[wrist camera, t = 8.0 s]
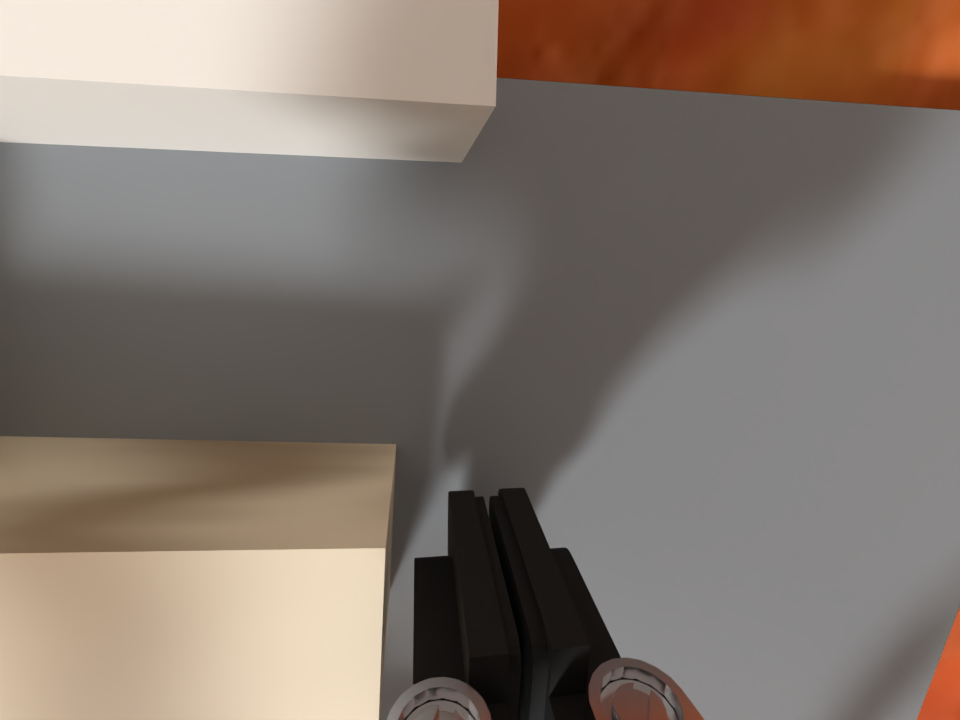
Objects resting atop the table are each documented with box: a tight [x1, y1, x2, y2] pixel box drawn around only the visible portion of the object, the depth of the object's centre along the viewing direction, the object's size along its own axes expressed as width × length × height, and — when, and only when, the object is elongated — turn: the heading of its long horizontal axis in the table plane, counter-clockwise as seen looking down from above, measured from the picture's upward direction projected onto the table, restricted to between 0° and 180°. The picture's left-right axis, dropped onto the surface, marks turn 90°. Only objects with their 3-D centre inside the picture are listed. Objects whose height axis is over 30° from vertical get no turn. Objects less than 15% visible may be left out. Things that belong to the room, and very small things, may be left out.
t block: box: [0, 436, 396, 720], centre depth 8 cm, size 12×12×4 cm
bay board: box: [0, 0, 960, 720], centre depth 9 cm, size 34×19×5 cm, turn 89°
